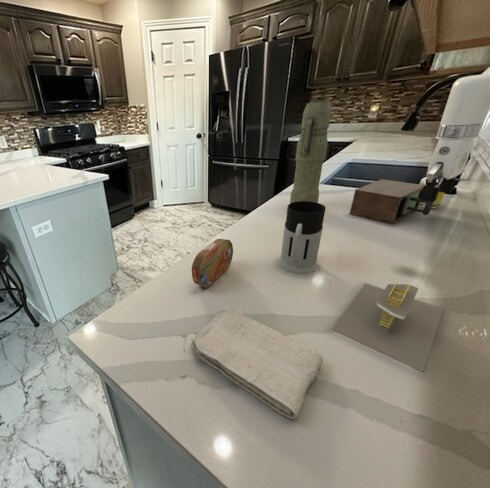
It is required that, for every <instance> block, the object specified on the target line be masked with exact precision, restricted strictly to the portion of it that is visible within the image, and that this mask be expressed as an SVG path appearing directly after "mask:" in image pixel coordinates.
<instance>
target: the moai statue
mask: <svg viewBox="0 0 490 488" xmlns="http://www.w3.org/2000/svg"><path fill="white" fill-rule="evenodd" d="M331 114H332V105H331V100H328V99H321V100H312V101H309V102H308V103H307V104H306V106H305V108H304V109H303V113H302V121H301V127H300V128H301V133H300V134H299V139H298V141H297V143H296V151H295V152H296V153H295V160H294V161H295V163H296V164H295V171H294V179H293V187H292V190H291V192H290V198H289V204H290V203H293V202H298V201H310V202H316V203H319V197H320V190H319V186H320V181H321V176H322V170H323V164H324V162H325V160H326V156H327V150H328V146H329V140H328V128H329V127H330V120H331Z"/></svg>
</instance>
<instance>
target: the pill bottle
mask: <svg viewBox="0 0 490 488" xmlns="http://www.w3.org/2000/svg"><path fill="white" fill-rule="evenodd" d="M439 176H442V175H439ZM426 179H427V176H424V177H423V178H421V180H420V182H419V184H420V185H424V184H425V182H426ZM436 180H437V181H438V180H439V179H436ZM444 196H445V193H444V192H438V195H437V198H436V200H435V201H434V202H433V205H432V208H431V209H437V208H440V205H441V203H442V202H443V198H444ZM425 205H426V203H423V202H420V204H419V207H418V208H421V209H424V208H425Z"/></svg>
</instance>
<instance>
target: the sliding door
mask: <svg viewBox="0 0 490 488" xmlns="http://www.w3.org/2000/svg"><path fill="white" fill-rule="evenodd" d="M419 193H420V191H419V192H417V193H415V194H413V195H410V196H408V197H407V199H406V202H405V205H404V208H403V210H402V213H401V214H403V215H404V214H406V213H407V212H409V211H416V212H417V213H421V214H422V215H424V216H428V215H429V214H430V212H431V210H432V209H433V208H432V205H433V202H430V201H424V200H420V198H418V196H419ZM416 201H417V202H423V203H426V205H425V208H419V207H418V208H414V207H415V204H416ZM416 212H415V213H416Z"/></svg>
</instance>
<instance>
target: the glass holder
mask: <svg viewBox="0 0 490 488" xmlns="http://www.w3.org/2000/svg"><path fill="white" fill-rule="evenodd" d="M325 215H326V206H325V204H322V203H319V202H318V203H316V202H310V201H298V202H293V203H290V202H289V203H288V205H287V209H286V218H285V222H284V227H283V235H282V243H281V244H282V245H281V254H280V257H279V259H278V261H277V262H278V265H279V267H280V268H282V269H284V270H285V271H287V272H291V273H295V274H311V273H314V272H315V271H316V270H318V263H317V259H318V256H319V255H318V254H319V249H320V246H321V245H320V244H321V240H322V234H323V230H324V225H323V224H324V219H325Z"/></svg>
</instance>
